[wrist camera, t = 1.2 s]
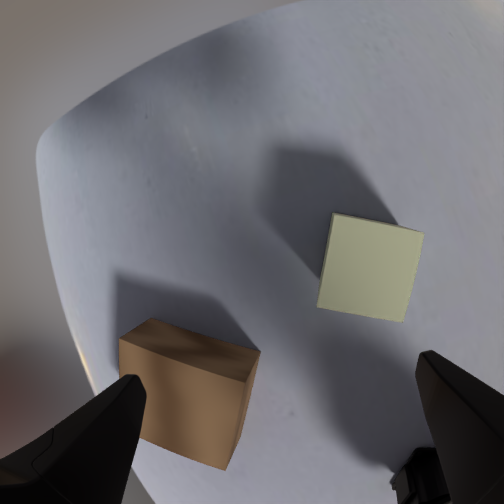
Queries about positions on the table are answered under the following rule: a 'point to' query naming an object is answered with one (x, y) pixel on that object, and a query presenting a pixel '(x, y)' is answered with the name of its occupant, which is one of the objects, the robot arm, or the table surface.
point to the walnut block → (190, 389)
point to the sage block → (369, 267)
